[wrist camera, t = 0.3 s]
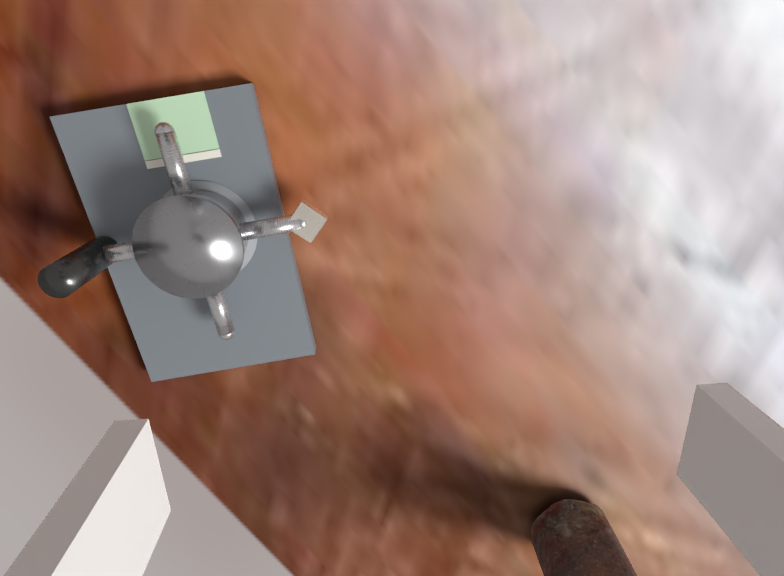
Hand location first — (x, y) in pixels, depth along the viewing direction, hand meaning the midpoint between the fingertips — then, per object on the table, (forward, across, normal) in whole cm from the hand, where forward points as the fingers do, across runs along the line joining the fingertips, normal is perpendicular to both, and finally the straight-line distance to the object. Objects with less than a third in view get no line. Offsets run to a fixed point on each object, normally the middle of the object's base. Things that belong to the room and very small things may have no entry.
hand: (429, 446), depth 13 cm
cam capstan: (+26, -12, -1) cm, 29 cm away
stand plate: (+27, -13, -2) cm, 30 cm away
